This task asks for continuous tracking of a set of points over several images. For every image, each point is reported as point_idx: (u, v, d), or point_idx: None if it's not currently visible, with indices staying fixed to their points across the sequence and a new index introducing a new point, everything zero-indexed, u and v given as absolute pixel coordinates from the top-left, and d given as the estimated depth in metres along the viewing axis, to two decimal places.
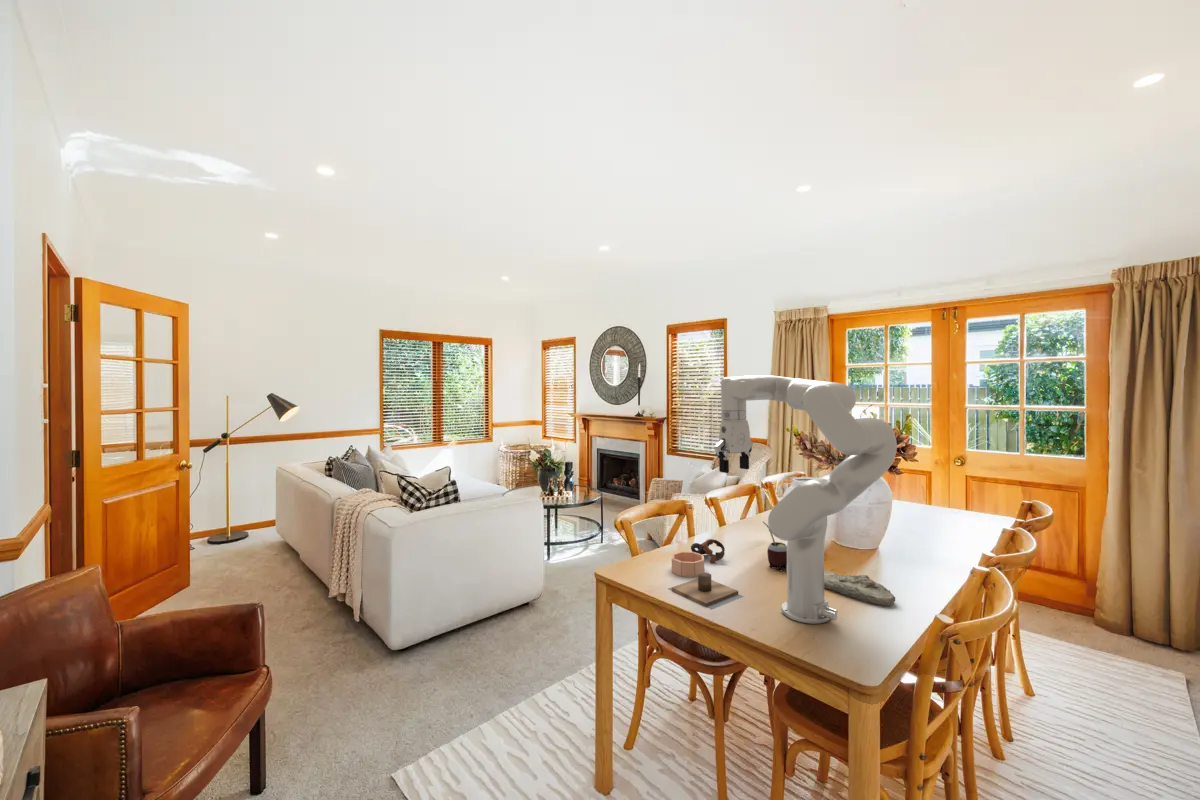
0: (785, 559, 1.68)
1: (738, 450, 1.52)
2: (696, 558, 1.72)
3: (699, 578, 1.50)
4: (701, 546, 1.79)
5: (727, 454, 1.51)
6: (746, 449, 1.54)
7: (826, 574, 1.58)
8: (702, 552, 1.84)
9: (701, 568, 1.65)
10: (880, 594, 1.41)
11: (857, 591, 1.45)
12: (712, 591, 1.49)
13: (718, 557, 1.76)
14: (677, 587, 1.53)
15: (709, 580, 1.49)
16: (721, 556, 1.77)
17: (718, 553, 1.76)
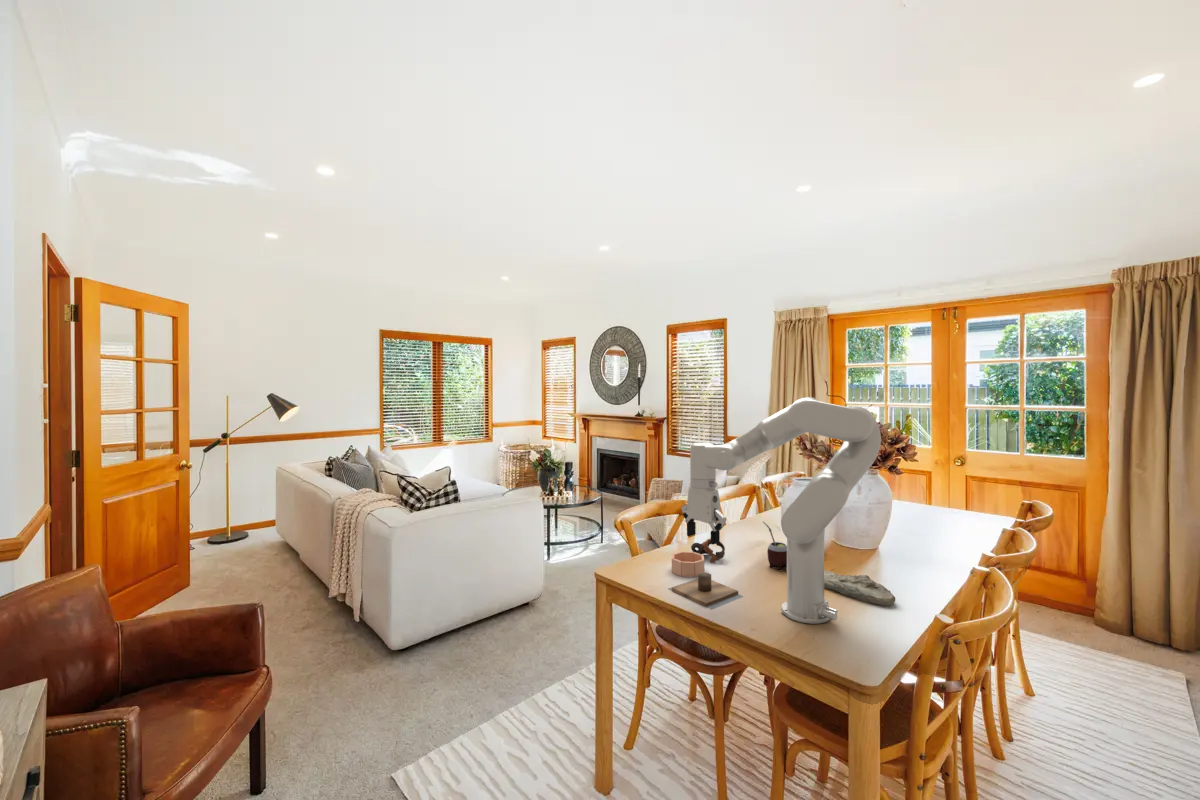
0: (785, 559, 1.68)
1: None
2: (696, 558, 1.72)
3: (699, 578, 1.50)
4: (701, 546, 1.80)
5: None
6: None
7: (826, 574, 1.58)
8: (702, 552, 1.85)
9: (701, 568, 1.65)
10: (880, 594, 1.41)
11: (857, 591, 1.45)
12: (712, 591, 1.49)
13: (718, 557, 1.77)
14: (677, 587, 1.53)
15: (709, 580, 1.49)
16: (721, 556, 1.77)
17: (718, 553, 1.76)
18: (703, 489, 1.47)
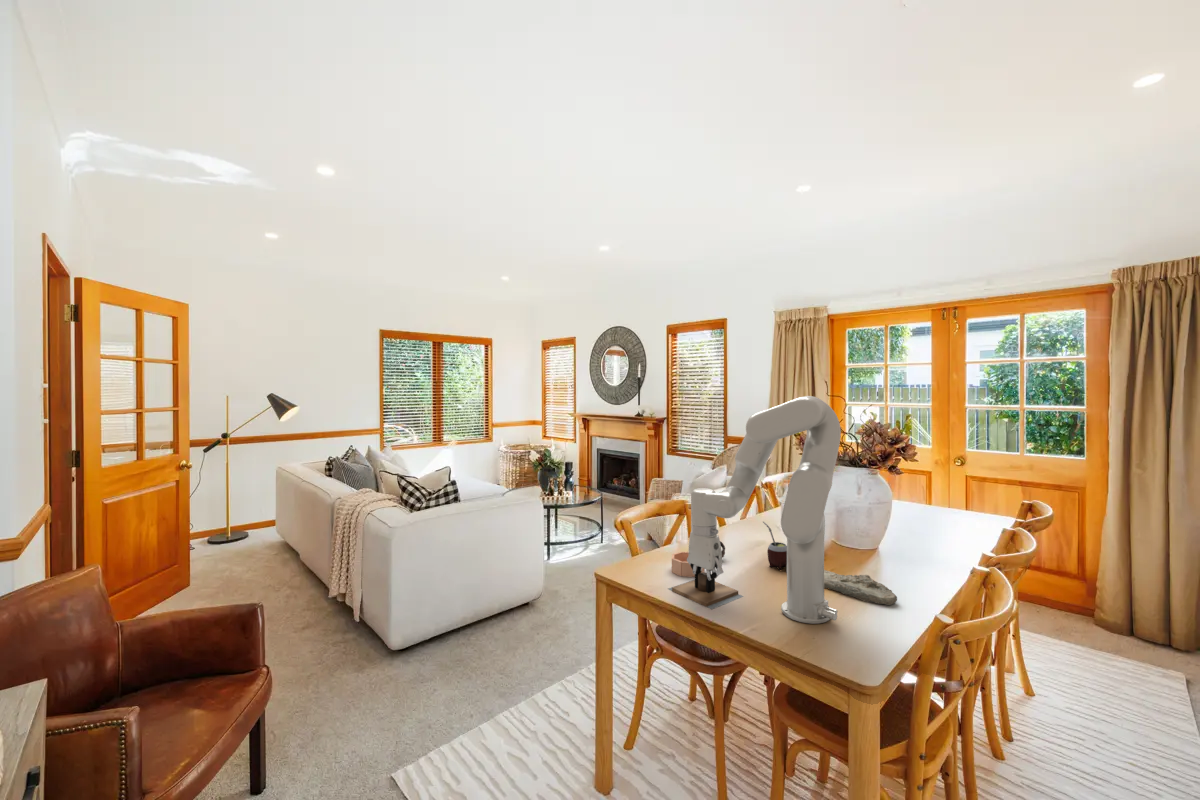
0: (785, 559, 1.68)
1: None
2: None
3: (699, 578, 1.50)
4: None
5: None
6: None
7: (827, 574, 1.58)
8: None
9: None
10: (882, 594, 1.42)
11: (859, 591, 1.45)
12: None
13: None
14: (677, 587, 1.53)
15: None
16: (722, 555, 1.78)
17: None
18: (704, 536, 1.47)
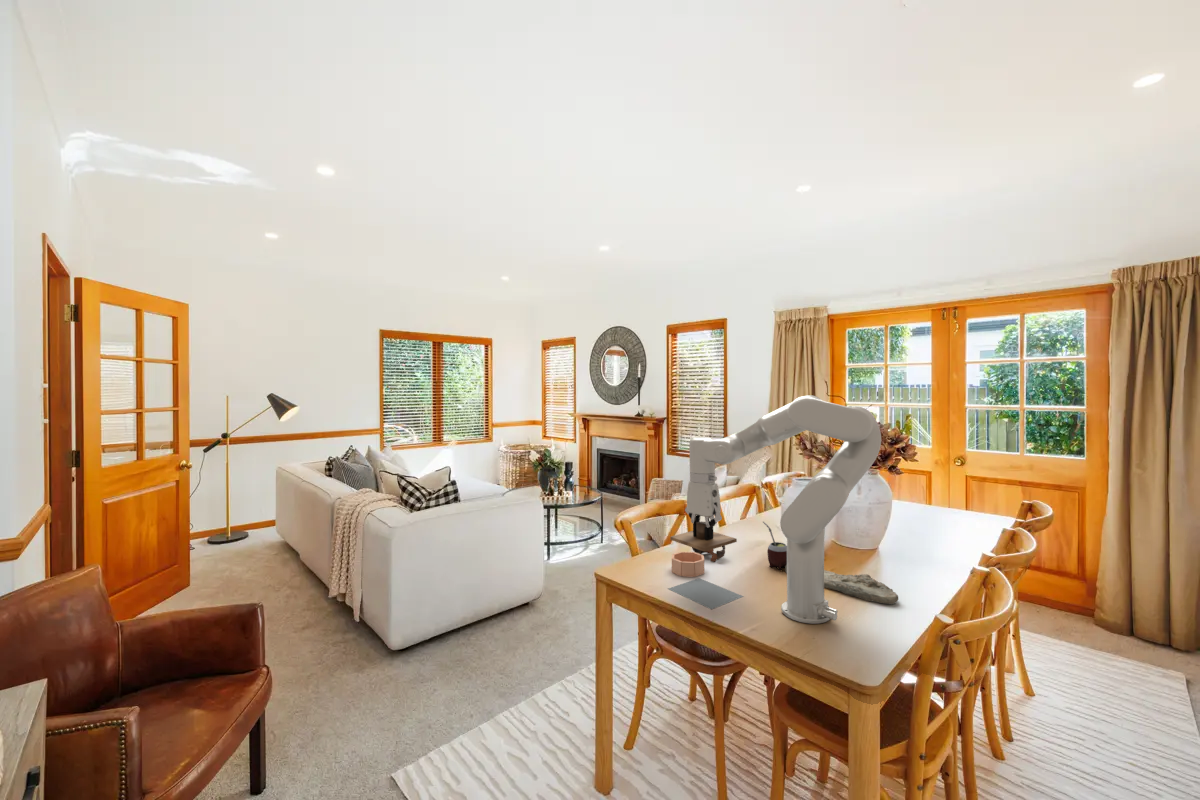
0: (785, 559, 1.68)
1: None
2: (696, 558, 1.72)
3: (697, 526, 1.50)
4: None
5: None
6: None
7: (827, 574, 1.58)
8: (702, 551, 1.86)
9: (701, 568, 1.65)
10: (883, 593, 1.42)
11: (861, 590, 1.45)
12: (710, 539, 1.50)
13: (719, 555, 1.78)
14: (675, 536, 1.53)
15: None
16: (722, 554, 1.78)
17: (719, 551, 1.77)
18: (703, 483, 1.47)
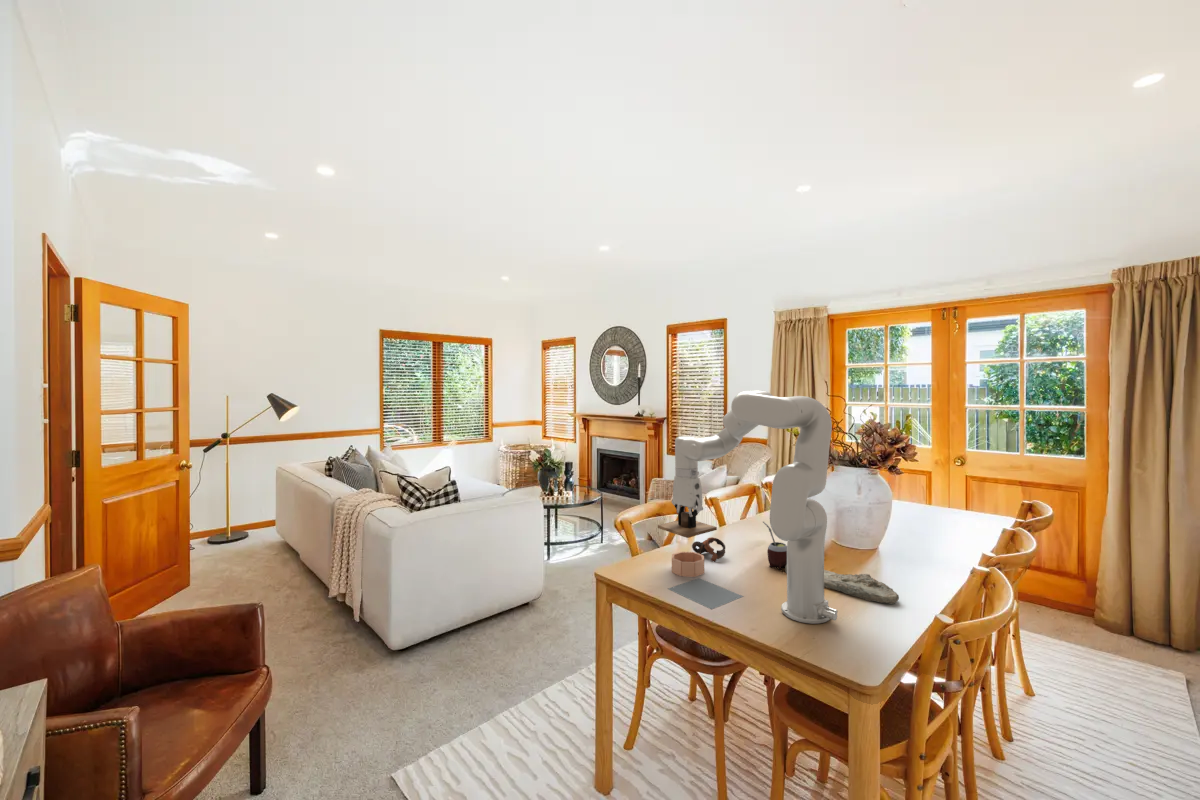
0: (785, 559, 1.68)
1: None
2: (696, 558, 1.72)
3: (682, 516, 1.68)
4: (702, 544, 1.81)
5: None
6: None
7: (827, 574, 1.58)
8: (703, 550, 1.86)
9: (701, 568, 1.65)
10: (884, 593, 1.42)
11: (861, 590, 1.45)
12: None
13: (719, 555, 1.78)
14: (662, 525, 1.71)
15: None
16: (722, 554, 1.79)
17: (719, 551, 1.78)
18: (686, 477, 1.65)
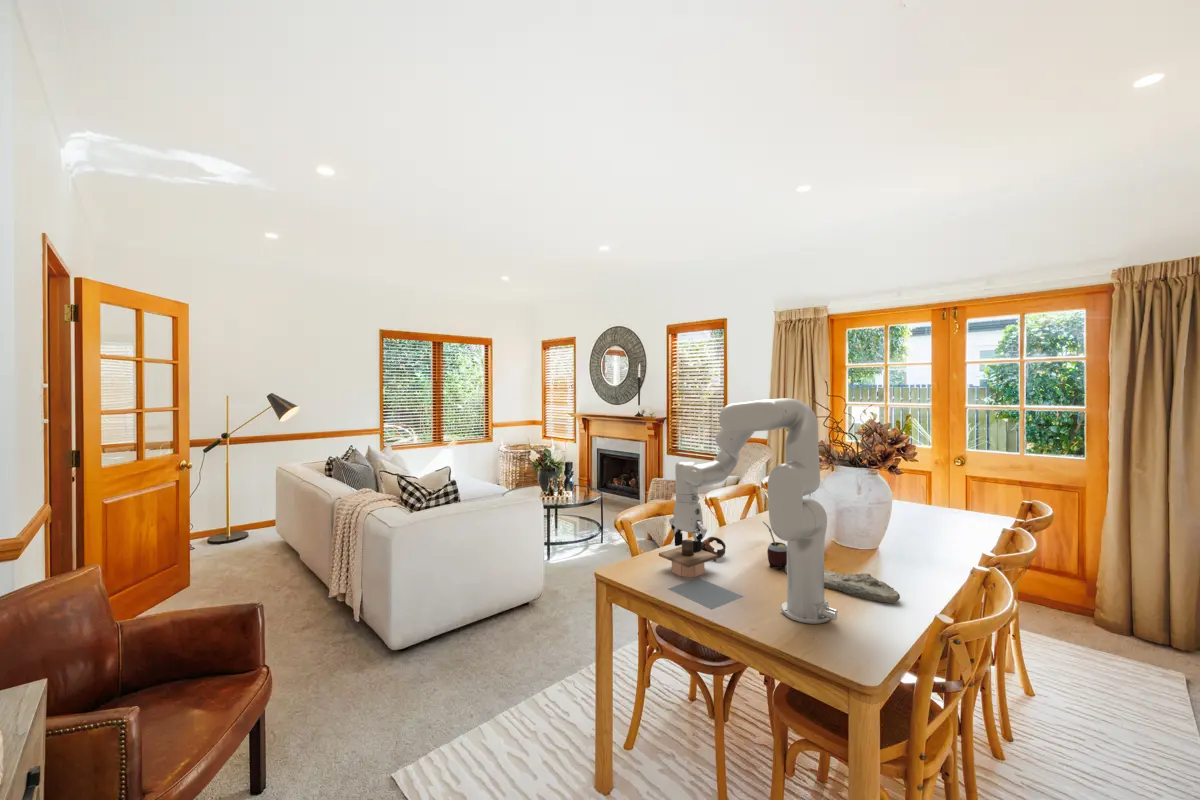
0: (785, 559, 1.68)
1: None
2: None
3: (683, 544, 1.68)
4: (702, 544, 1.82)
5: None
6: None
7: (827, 574, 1.58)
8: None
9: (701, 568, 1.65)
10: (885, 592, 1.43)
11: (862, 590, 1.45)
12: (694, 555, 1.67)
13: (719, 554, 1.79)
14: (663, 553, 1.71)
15: (691, 546, 1.67)
16: (722, 553, 1.80)
17: (719, 550, 1.79)
18: (687, 503, 1.65)
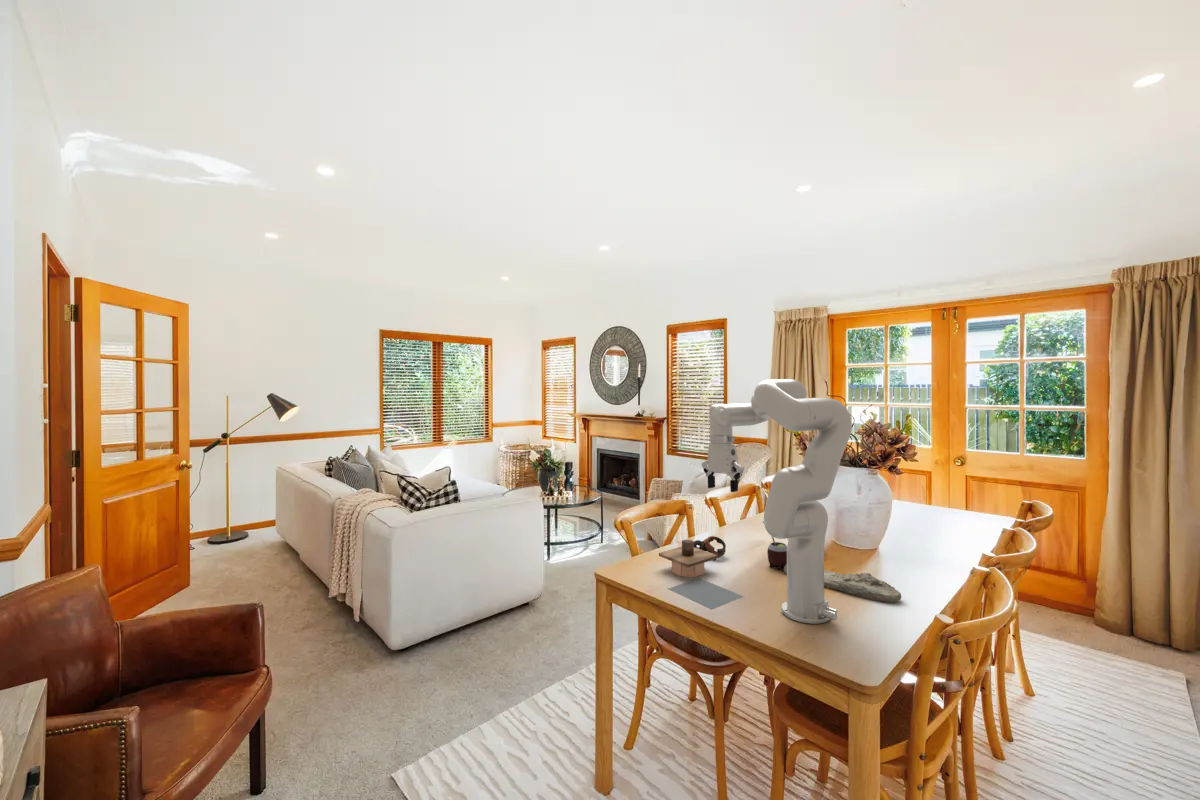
0: (785, 559, 1.68)
1: None
2: None
3: (683, 544, 1.68)
4: (703, 543, 1.83)
5: None
6: None
7: (827, 574, 1.58)
8: (703, 549, 1.88)
9: (701, 568, 1.65)
10: (887, 592, 1.43)
11: (864, 590, 1.46)
12: (694, 555, 1.67)
13: (720, 553, 1.80)
14: (663, 553, 1.71)
15: (691, 546, 1.67)
16: (722, 552, 1.81)
17: (720, 550, 1.79)
18: (722, 444, 1.67)
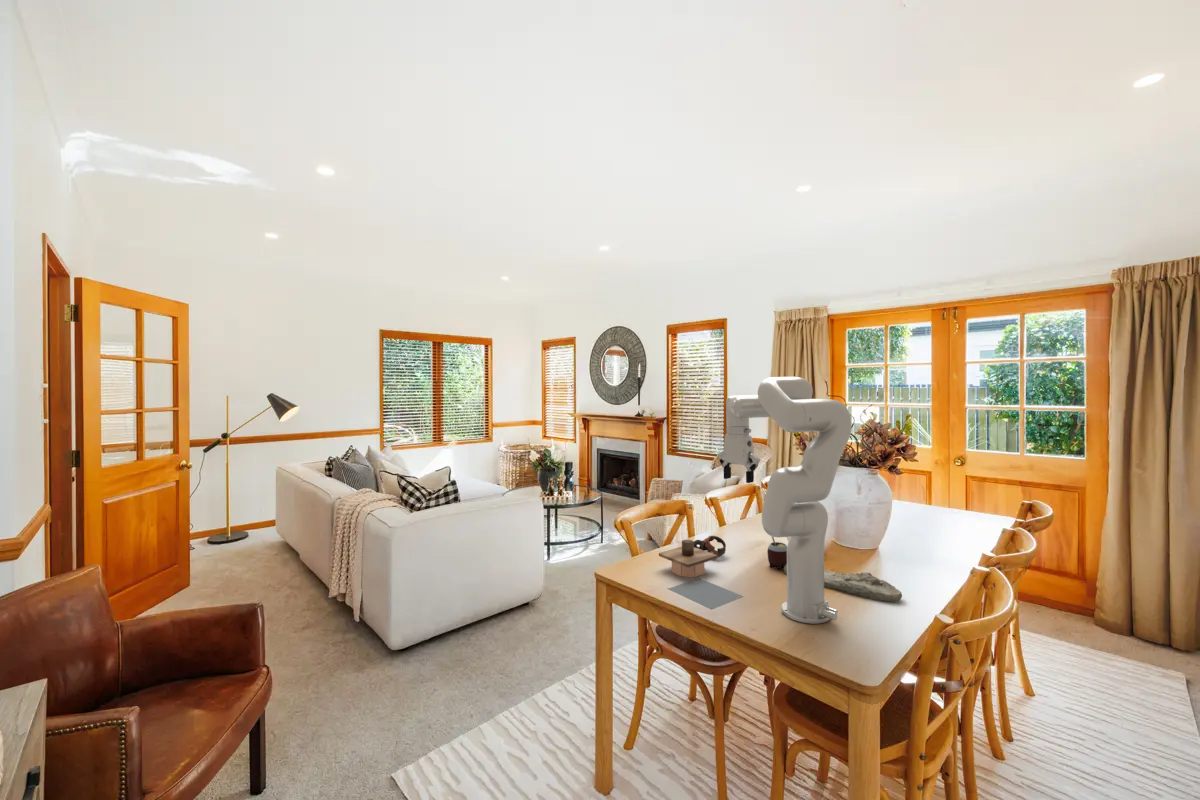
0: (785, 559, 1.68)
1: None
2: None
3: (683, 544, 1.68)
4: (703, 543, 1.83)
5: None
6: None
7: (827, 574, 1.58)
8: (703, 548, 1.88)
9: (701, 568, 1.65)
10: (888, 591, 1.44)
11: (865, 589, 1.46)
12: (694, 555, 1.67)
13: (720, 553, 1.80)
14: (663, 553, 1.71)
15: (691, 546, 1.67)
16: (723, 552, 1.81)
17: (720, 549, 1.80)
18: (739, 435, 1.68)
